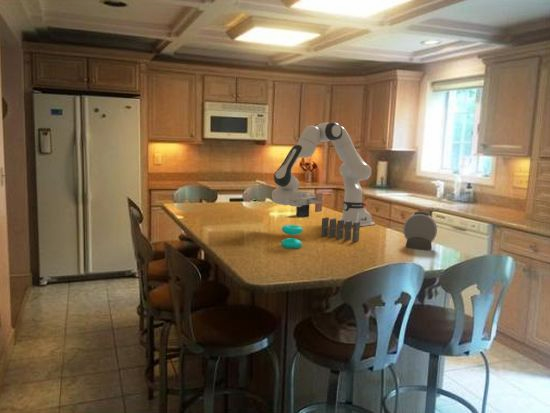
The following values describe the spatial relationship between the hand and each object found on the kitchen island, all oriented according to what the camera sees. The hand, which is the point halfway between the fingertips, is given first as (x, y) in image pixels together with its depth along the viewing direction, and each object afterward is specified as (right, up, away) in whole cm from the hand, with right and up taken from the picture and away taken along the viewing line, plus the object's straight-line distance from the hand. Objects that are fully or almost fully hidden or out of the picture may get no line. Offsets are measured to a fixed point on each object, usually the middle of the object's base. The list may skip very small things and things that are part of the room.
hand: (320, 201), depth 258 cm
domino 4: (+10, -20, -4) cm, 22 cm away
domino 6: (+18, -21, -9) cm, 29 cm away
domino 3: (+6, -19, -2) cm, 20 cm away
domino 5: (+14, -20, -6) cm, 25 cm away
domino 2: (+2, -19, +1) cm, 19 cm away
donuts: (-17, -22, -29) cm, 40 cm away
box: (-6, -9, +67) cm, 68 cm away
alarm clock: (+48, -23, -18) cm, 56 cm away
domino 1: (-1, -5, +1) cm, 6 cm away
